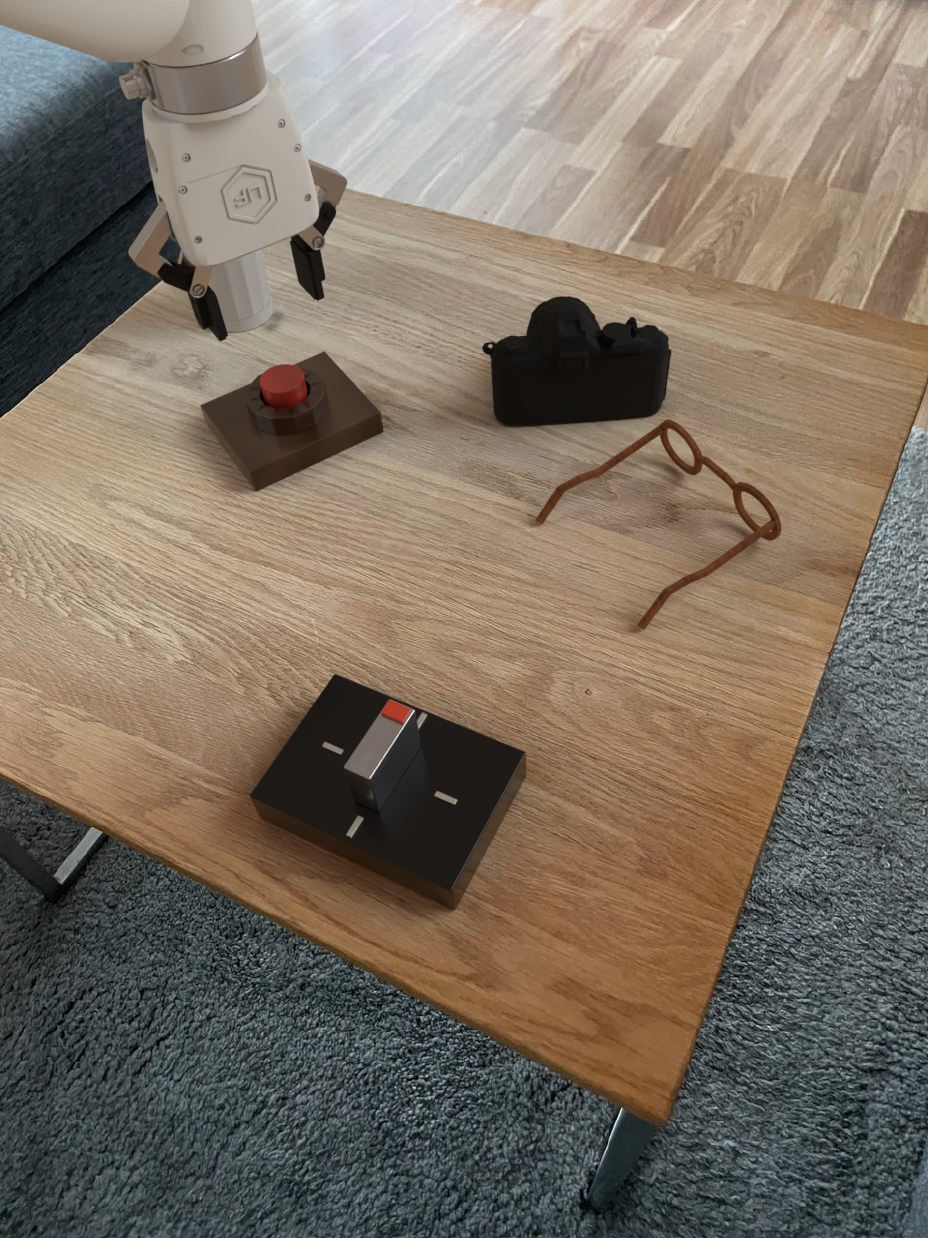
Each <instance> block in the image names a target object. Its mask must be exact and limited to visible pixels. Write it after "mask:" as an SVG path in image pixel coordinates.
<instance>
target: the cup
mask: <svg viewBox="0 0 928 1238" xmlns="http://www.w3.org/2000/svg"><path fill="white" fill-rule="evenodd" d="M264 254H265V253H264V248H263V249H260V250H258V251H255V252H253V253H250V254H248V255H245V256H243V257H240V258H237V259H235V260H232V261H230V262H227V263H224V264H221V265H218V266H215V267H212V271H211V275H210V279H209V283H208V285H209V287H210V288H211V289H212V290H213V291H214V292H215V294H216V296H217V299H218V302H219V306H220V309H221V313H222V316H223V319H224V323H225V326H226V330H227V333H241V332H242V333H243V332H246V331H251V330H253V329H256V328H258V327H260V326H262V325H263V324H265V323H266V322H267V321H269V319H270V318H271V317H272V316H273V313H274V309H275V308H274V302H273V298H272V294H271V291H270V286H269V280H268V279H269V278H268V274H267V273H268V272H267V267H266V266H267V265H266V260H265V255H264Z"/></svg>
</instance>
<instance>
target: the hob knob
mask: <svg viewBox="0 0 928 1238" xmlns="http://www.w3.org/2000/svg"><path fill="white" fill-rule="evenodd" d="M420 747H421V741H420V735H419V730H418V724H417V719H416V713H415V710H414V709H412V708H410V707H407V706H405V705H403V704H400V703H398V702H396V701H393V700H391V699H389V700H388V702H387V703H386V705H385V706H384V708H383V709H382V711H381V712H380V714H379V715H378V717H377V718H376V720H375V721H374V723H373V724H372V726H371V727H370V729H369V730H368V732H367V733H366V735H365V736H364V738H363V739H362V740H361V742H360V743H359V745H358V746H357V748H356V749H355V751H354V752H353V754H352V755H351V757H350V758H349V760H348V761H347V763H346V764H345V766H344V770H345V773H346V777H347V780H348V783H349V786H350V790H351V793H352V796H353V799H354V801H355V802H357V803H359V804H361V805H363V806H365V807H367V808H369V809H371V810H374V811H376V812H378V813H379V812H380V810H381V809H382V807H383V806H384V804H385V803H386V801H387V799H388V798H389V796H390V795H391V793H392V791H393V790H394V788H395V787H396V785H397V784H398V782H399V780H400V779H401V777H402V776H403V774H404V772H405V771H406V769H407V768H408V766H409V765H410V763H411V761H412V760H413V758H414V757H415V755H416V753H417V752H418V750H419V749H420Z"/></svg>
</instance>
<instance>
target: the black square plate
mask: <svg viewBox="0 0 928 1238" xmlns="http://www.w3.org/2000/svg"><path fill="white" fill-rule="evenodd" d="M389 699H391V700H393V701H396V702H398V703H400V704H403V705H405V706H407V707H410V708H412V709H414V710H415V713H416V719H417V724H418V730H419V735H420V741H421V747H420V749H419V750H418V752H417V753H416V755H415V757H414V758H413V760H412V761H411V763H410V765H409V766H408V768H407V769H406V771H405V772H404V774H403V776H402V777H401V779H400V780H399V782H398V784H397V785H396V787H395V788H394V790H393V791H392V793H391V795H390V796H389V798H388V799H387V801H386V803H385V804H384V806H383V807H382V809H381V810H380V812H379V813H378V812H376V811H374V810H371V809H369V808H367V807H365V806H363V805H361V804H359V803H357V802H355V801H354V799H353V796H352V793H351V790H350V786H349V783H348V780H347V777H346V773H345V770H344V766H345V764H346V763H347V761H348V760H349V758H350V757H351V755H352V754H353V752H354V751H355V749H356V748H357V746H358V745H359V743H360V742H361V740H362V739H363V738H364V736H365V735H366V733H367V732H368V730H369V729H370V727H371V726H372V724H373V723H374V721H375V720H376V718H377V717H378V715H379V714H380V712H381V711H382V709H383V708H384V706H385V705H386V703H387V702H388V700H389ZM526 777H527V752H526V751H524V750H522V749H520V748H517V747H514V746H512V745H510V744H507V743H505V742H502V741H500V740H497V739H495V738H493V737H490V736H488V735H486V734H483V733H480V732H478V731H475V730H473V729H470V728H468V727H466V726H463V725H461V724H458V723H456V722H453V721H451V720H449V719H447V718H444V717H441V716H439V715H437V714H434V713H432V712H430V711H426V710H424V709H422V708H420V707H418V706H415V705H412V704H410V703H407V702H405V701H402V700H400V699H397V698H395V697H393V696H390V695H388V694H386V693H383V692H381V691H378V690H376V689H373V688H370V687H368V686H367V685H365V684H361V683H358V682H356V681H353V680H352V679H349V678H347V677H344V676H342V675H339V674H337V673H334V674H333V675H332V676H331V678H330V680H329V681H328V682H327V684H326V685H325V686H324V688H323V689H322V691H321V692H320V694H319V695H318V697H317V698H316V699H315V701H314V702H313V704H312V706H311V707H310V708H309V710H308V711H307V712H306V714H305V715H304V717H303V718H302V720H301V721H300V723H298V725H297V727H296V728H295V730H294V731H293V732H292V734H291V736H289V738H288V739H287V741H286V743H285V744H284V745H283V747H282V748H281V750H280V751H279V753H278V754H277V755H276V756H275V758H274V760H273V761H272V763H271V764H270V766H268V768H267V770H266V771H265V773H264V774H263V776H261V778H260V780H259V781H258V783H257V784H256V785H255V787H254V788H253V789H252V791H251V793H250V794H249V798H250V800H251V802H252V805H253V807H254V808H255V810H256V813H257V814H258V817H259V818H260V819H262V820H263V821H266V822H268V823H270V824H272V825H274V826H276V827H278V828H281V829H283V830H285V831H287V832H289V833H291V834H292V835H295V836H298V837H299V838H302V839H304V840H306V841H308V842H310V843H312V844H314V845H316V846H318V847H320V848H322V849H324V850H326V851H329V852H331V853H333V854H335V855H337V856H339V857H341V858H343V859H345V860H348V861H349V862H352V863H354V864H356V865H357V866H360V867H362V868H364V869H366V870H368V871H370V872H373V873H375V874H376V875H379V876H381V877H384V878H385V879H387V880H390V881H391V882H394V883H396V884H398V885H400V886H402V887H404V888H406V889H408V890H410V891H413V892H414V893H417V894H418V895H421V896H423V897H425V898H427V899H429V900H431V901H433V902H436V903H438V904H440V905H441V906H443V907H446V908H447V909H449V910H452V911H455V910H456V909H458V906H459V904H460V902H461V900H462V898H463V897H464V895H465V893H466V891H467V889H468V887H469V885H470V883H471V881H472V880H473V877H474V876H475V874H476V872H477V870H478V869H479V866H480V865H481V862H482V861H483V859H484V857H485V856H486V853H487V851H488V850H489V848H490V846H491V844H492V843H493V839H494V838H495V837H496V835H497V833H498V831H499V828H500V827H501V825H502V823H503V821H504V819H505V817H506V815H507V814H508V811H510V808H511V806H512V804H513V802H514V800H515V799H516V796H517V795H518V793H519V791H520V789H521V787H522V785H523V784H524V781H525V780H526Z"/></svg>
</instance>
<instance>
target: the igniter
mask: <svg viewBox="0 0 928 1238" xmlns="http://www.w3.org/2000/svg"><path fill="white" fill-rule="evenodd" d="M293 365H294V366H297V367H298V368H300V369H301V370H302V372H303V374H304V378H305V383H306V387H307V396H306V398H305V400H304V401H303V402H302V403H300V404H298V405H295V406H293V407H291V408H280V409H276V408H273V407H270V406H269V405H268V404H267V403H266V402H265V400H264V397H263V393H262V389H261V386H260V377H261V375H262V374H263V373H260V374H259V375H257V376H256V378H254V379H253V380H252V382H249V383H248V384H245V385H243V386H241V387H239V388H236V389H234V390H231V391H229V392H227V393H225V394H223V395H219V396H217V397H216V398H213V399H211V400H209V401H206V402H204V403H202V404H200V405H199V407H200V410H201V413H202V416H203V418H204V422H205V424H206V426H207V428H208V429H209V430H210V432H211V433H212V434H213V436H214V437H215V438H216V439H217V441H218V442H219V444H220V445H221V447H223V449H224V450H225V452H226V453H227V454H228V456H229V457H230V459H231V460H232V461H233V463H234V464H235V465H236V466H237V468H238V469H239V471H240V472H241V473H242V474H243V476H244V477H245V479H246V480H247V481H248V483H249V484H250V485H251V487H252V488H253V490H254V491H255V492H258V491H260V490H263V489H265V488H267V487H270V486H271V485H274V484H275V483H277V482H279V481H280V482H281V480H284V479H286V478H288V477H290V476H292V475H294V474H297V473H299V472H301V471H303V470H305V469H307V468H309V467H311V466H313V465H315V464H318V463H320V462H322V461H324V460H327V459H328V458H331V457H332V456H335V455H337V454H339V453H342V452H343V451H345V450H348V449H350V448H353V447H354V446H356V445H359V444H360V443H362V442H365V441H366V440H369V439H371V438H373V437H375V436H377V435H379V434H382V433H384V426H383V420H382V413H381V411H380V410H379V408H378V407H376V405H375V404H374V403H373V402H372V401H371V400H370V399H369V398H368V397H367V395H366V394H365V393H364V392H363V391H362V390H361V389H360V388H359V387H358V386H357V385H356V384H355V383H354V381H353V380H352V379H351V378H350V377H349V376H348V375H347V374H346V373H345V372H344V371H343V370H342V369H341V367H339V365H338V364H337V363H336V362H335V360H333V358H331V356H330V355H329V354H328V353H327V352H326V351H322V352H319V353H317V354H314V355H313V356H310V357H308V358H306V359H303V360H301V361H299V362H296V363H294V364H293Z"/></svg>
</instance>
